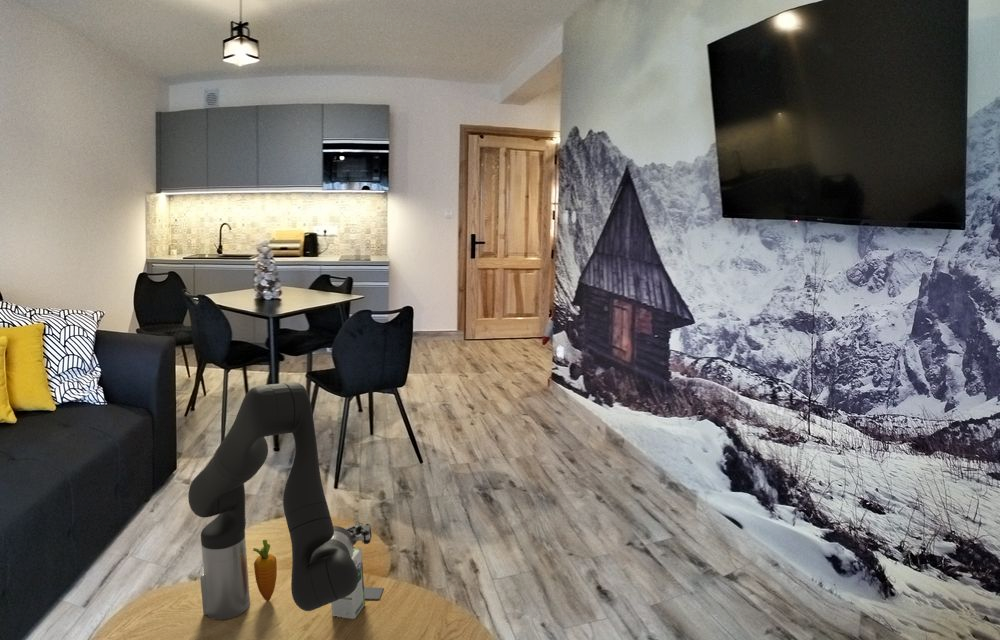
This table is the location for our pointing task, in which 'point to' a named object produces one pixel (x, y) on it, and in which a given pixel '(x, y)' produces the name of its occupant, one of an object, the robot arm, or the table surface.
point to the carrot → (265, 571)
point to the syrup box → (355, 600)
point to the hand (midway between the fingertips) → (337, 529)
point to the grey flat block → (372, 593)
